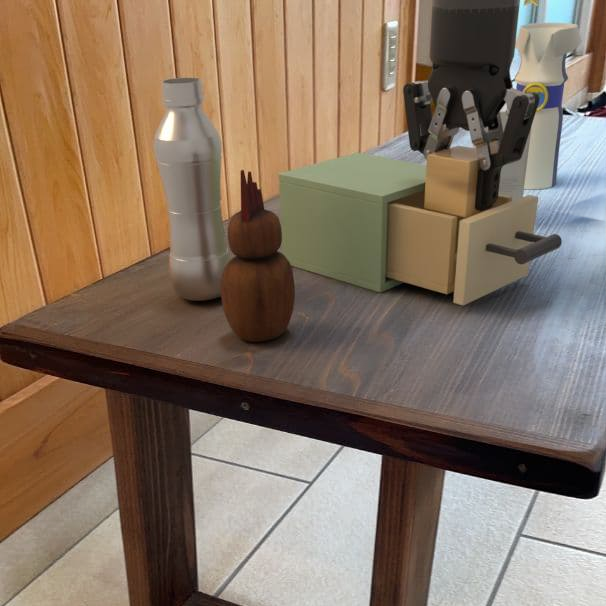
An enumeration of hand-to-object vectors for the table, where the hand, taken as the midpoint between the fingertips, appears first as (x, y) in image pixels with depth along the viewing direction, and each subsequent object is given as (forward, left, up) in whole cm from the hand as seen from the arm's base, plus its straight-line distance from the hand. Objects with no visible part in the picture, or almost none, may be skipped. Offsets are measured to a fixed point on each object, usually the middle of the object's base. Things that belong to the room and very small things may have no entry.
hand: (459, 203), depth 84 cm
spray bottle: (-41, -17, -9) cm, 45 cm away
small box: (-23, -11, -9) cm, 27 cm away
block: (0, 0, 0) cm, 0 cm away
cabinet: (0, -12, -8) cm, 15 cm away
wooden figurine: (+22, -6, -9) cm, 24 cm away
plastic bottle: (+19, -18, -9) cm, 28 cm away
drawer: (0, +1, -7) cm, 8 cm away
